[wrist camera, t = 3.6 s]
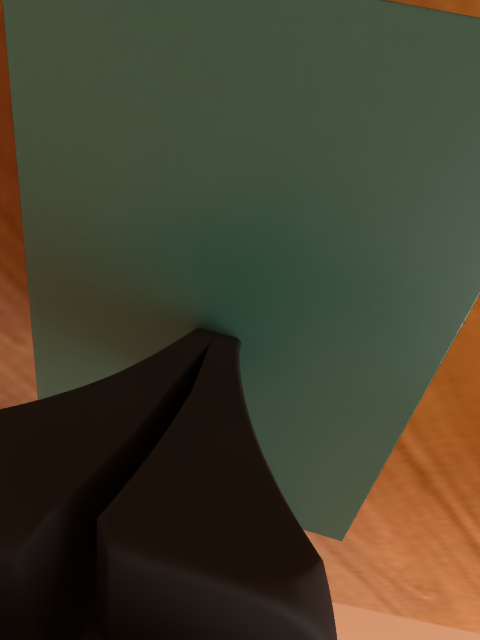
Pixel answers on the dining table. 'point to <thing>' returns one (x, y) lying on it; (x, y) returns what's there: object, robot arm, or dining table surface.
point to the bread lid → (254, 208)
